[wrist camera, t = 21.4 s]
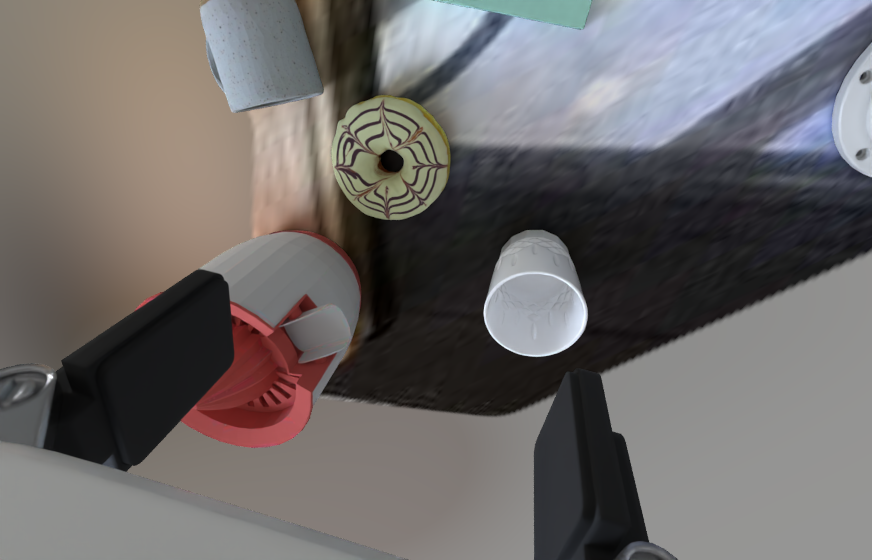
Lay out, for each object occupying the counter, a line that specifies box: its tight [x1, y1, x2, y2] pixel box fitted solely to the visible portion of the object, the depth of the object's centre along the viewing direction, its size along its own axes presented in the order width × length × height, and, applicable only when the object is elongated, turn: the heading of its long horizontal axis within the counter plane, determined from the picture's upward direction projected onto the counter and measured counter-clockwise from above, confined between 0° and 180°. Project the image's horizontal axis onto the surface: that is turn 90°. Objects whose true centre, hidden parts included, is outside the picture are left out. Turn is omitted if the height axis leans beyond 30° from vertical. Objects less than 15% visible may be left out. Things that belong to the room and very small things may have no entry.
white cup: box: [484, 230, 588, 356], centre depth 38 cm, size 8×8×10 cm
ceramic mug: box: [200, 0, 324, 113], centre depth 34 cm, size 11×8×8 cm
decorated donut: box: [331, 95, 450, 220], centre depth 38 cm, size 10×11×4 cm
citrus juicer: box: [135, 230, 361, 448], centre depth 39 cm, size 16×17×20 cm
